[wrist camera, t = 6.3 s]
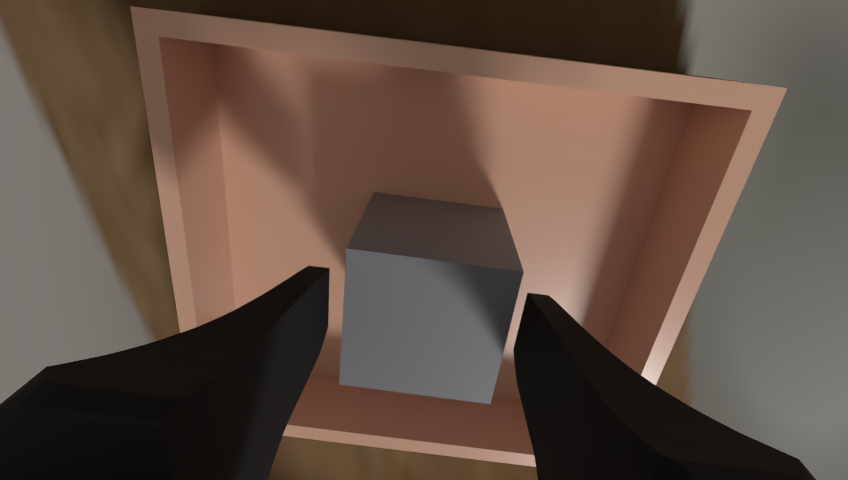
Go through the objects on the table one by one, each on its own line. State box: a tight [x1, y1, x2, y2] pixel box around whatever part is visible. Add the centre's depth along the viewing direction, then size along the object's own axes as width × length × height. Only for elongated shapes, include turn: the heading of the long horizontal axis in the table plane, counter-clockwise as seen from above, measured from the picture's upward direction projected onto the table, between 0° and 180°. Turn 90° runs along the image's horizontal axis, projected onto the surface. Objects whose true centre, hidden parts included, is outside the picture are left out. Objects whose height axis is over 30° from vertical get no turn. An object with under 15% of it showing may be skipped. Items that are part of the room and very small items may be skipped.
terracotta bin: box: [130, 6, 787, 467], centre depth 15 cm, size 14×16×3 cm
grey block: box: [339, 192, 524, 404], centre depth 14 cm, size 4×4×4 cm
